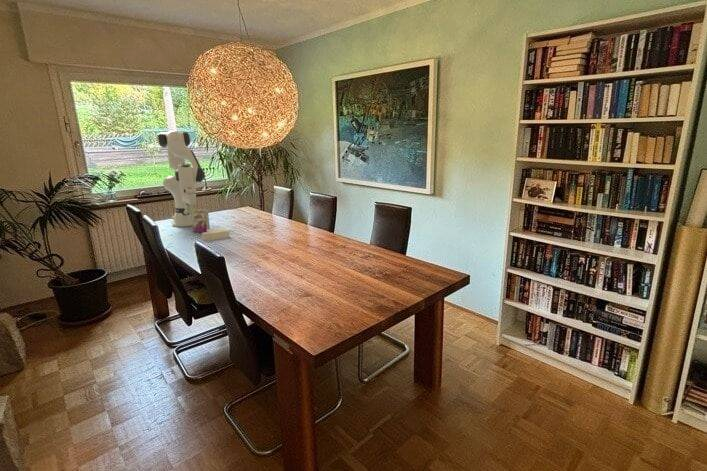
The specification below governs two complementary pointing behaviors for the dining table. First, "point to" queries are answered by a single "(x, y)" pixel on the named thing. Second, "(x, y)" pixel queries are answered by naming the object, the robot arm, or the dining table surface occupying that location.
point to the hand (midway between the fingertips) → (189, 209)
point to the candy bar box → (200, 220)
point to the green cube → (188, 208)
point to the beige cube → (206, 236)
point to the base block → (219, 233)
